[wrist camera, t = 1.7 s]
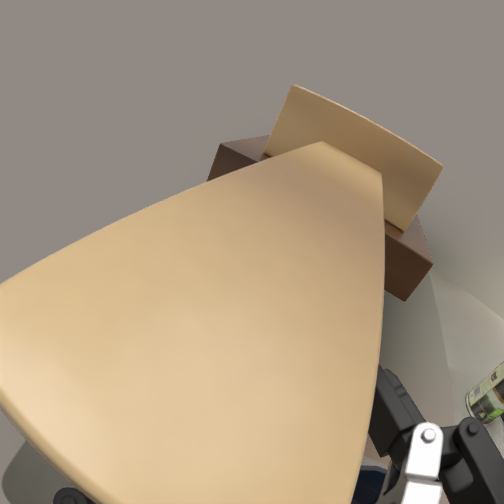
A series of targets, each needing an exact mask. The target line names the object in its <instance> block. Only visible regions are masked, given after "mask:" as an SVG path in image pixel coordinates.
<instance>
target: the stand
mask: <svg viewBox="0 0 504 504" xmlns="http://www.w3.org/2000/svg"><path fill="white" fill-rule="evenodd" d="M269 136H270V135H268V136H261V137H255V138H248V139H241V140H236V141H231V142H225V143H221V144H220V145H219V148H218V151H217V154H216V157H215V159H214V162H213V165H212V168H211V171H210V174H209V176H208V179H207V182H208V181H210V180H213V179H215V178H218V177H220V176H223V175H226V174H228V173H231V172H233V171H236V170H239V169H241V168H244V167H247V166H249V165H252V164H255V163H258V162H260V161H263V160H266V159H269V158H272V157H270V156H268V155H266V154H264V153H263V151H264V148H265V146H266V143H267V141H268V139H269ZM384 227H385V275H384V290H386V291H388V292H389V293H391V294H393V295H394V296H396V297H398V298H399V299H401V300H402V301H406V300H407V298H408V297H409V296H410V295H411V293H412V292H413V291H414V290H415V288H416V287H417V286H418V284H419V283H420V282H421V280H422V279H423V278H424V277H425V275H426V274H427V273H428V271H429V270H430V268H431V267H432V265H433V261H432V258H431V254H430V251H429V248H428V245H427V242H426V239H425V236H424V233H423V230H422V227H421V225H420V222H419V219H418V217H417V214H416V216H415V217H414V219H413V220H412V222H411V224H410V225H409V227H408V228H407V230H406V231H405V232H403V231H401V230H400V229H398V228H396V227H395V226H393V225H392V224H390V223H388V222H387V221H385V220H384Z"/></svg>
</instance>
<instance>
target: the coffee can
mask: <svg viewBox="0 0 504 504" xmlns="http://www.w3.org/2000/svg"><path fill="white" fill-rule="evenodd" d="M466 404H467V408H468V411H469V413H470V415H471V417H474V418H477V419H479V420H480V421H481V422H482V424H483V425H484V426H486V425H488V424H489V423H490V422H491V421H493V420H494V419H495V418H497V417H498V416H499V415H501V414H502V413H503V412H504V361H503V362H502V363H501V364H500V365H499V366H498V367H497V368H496V369H495V370H494V371H493V372H492V373H491V374H490V375H488V376H487V377H486V378H485V379H484V380H483V381H482V382H481V383H479V384H478V385H477V386H476V387H475V388H474V389H473V390H471V391H470V392H469V393H468V394H467V396H466Z"/></svg>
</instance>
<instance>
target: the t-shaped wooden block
mask: <svg viewBox="0 0 504 504" xmlns="http://www.w3.org/2000/svg"><path fill="white" fill-rule="evenodd" d="M263 153H264V154H266V155H268V156H270V157H272V158H269V159H266V160H263V161H260V162H258V163H255V164H252V165H249V166H247V167H244V168H241V169H239V170H236V171H233V172H231V173H228V174H226V175H223V176H220V177H218V178H215V179H213V180H210V181H208V182H205V183H203V184H200V185H198V186H196V187H193V188H191V189H188V190H186V191H184V192H182V193H179V194H176V195H174V196H172V197H169V198H167V199H165V200H162V201H160V202H158V203H156V204H153V205H151V206H149V207H147V208H144V209H142V210H140V211H138V212H136V213H134V214H131V215H129V216H127V217H125V218H123V219H121V220H119V221H116V222H114V223H112V224H110V225H108V226H106V227H104V228H102V229H100V230H98V231H96V232H94V233H92V234H90V235H88V236H86V237H84V238H82V239H80V240H78V241H76V242H74V243H72V244H71V245H68V246H67V247H65V248H63V249H61V250H59V251H57V252H55V253H53V254H52V255H50V256H48V257H46V258H45V259H43V260H41V261H39V262H37V263H35V264H34V265H32V266H30V267H28V268H27V269H25V270H23V271H21V272H20V273H18V274H16V275H15V276H13V277H11V278H9V279H8V280H6V281H4V282H3V283H1V284H0V409H1V410H2V412H3V413H4V415H5V416H6V417H7V418H8V419H9V421H10V422H11V423H12V424H13V426H14V427H15V428H16V429H17V430H18V431H19V432H20V434H21V435H22V436H23V437H24V438H25V439H26V440H27V441H28V442H29V444H30V445H31V446H32V447H33V448H34V449H35V450H36V451H37V452H38V453H39V454H40V455H41V456H42V457H43V458H44V459H45V460H46V461H47V462H48V463H49V464H50V465H51V466H52V467H53V468H54V469H56V470H57V471H58V472H59V473H60V474H61V475H62V476H63V477H64V478H65V479H67V480H68V481H69V482H70V483H71V484H72V485H74V486H75V487H76V488H77V489H78V490H80V491H81V492H82V493H83V494H84V495H86V496H87V497H88V498H90V499H91V500H92V501H93V502H95V503H96V504H351V501H352V497H353V494H354V490H355V486H356V482H357V479H358V475H359V471H360V466H361V462H362V458H363V453H364V449H365V444H366V439H367V434H368V429H369V424H370V418H371V412H372V406H373V400H374V393H375V387H376V379H377V371H378V363H379V354H380V344H381V332H382V318H383V302H384V275H385V227H384V220H385V221H387V222H388V223H390V224H392V225H393V226H395V227H396V228H398V229H400V230H401V231H403V232H405V231H406V230H407V228H408V227H409V225H410V224H411V222H412V220H413V219H414V217H415V216H416V214H417V212H418V211H419V209H420V207H421V206H422V204H423V202H424V201H425V199H426V197H427V196H428V194H429V192H430V191H431V189H432V187H433V185H434V183H435V182H436V180H437V178H438V176H439V175H440V173H441V171H442V169H443V165H442V164H441V163H439V162H438V161H436V160H435V159H433V158H432V157H430V156H429V155H427V154H426V153H424V152H422V151H421V150H420V149H418V148H417V147H415V146H413V145H412V144H410V143H409V142H407V141H405V140H404V139H402V138H400V137H399V136H397V135H395V134H394V133H392V132H390V131H388V130H387V129H385V128H383V127H382V126H380V125H378V124H376V123H374V122H372V121H371V120H369V119H367V118H365V117H363V116H361V115H359V114H358V113H356V112H353V111H352V110H350V109H348V108H346V107H344V106H342V105H340V104H338V103H336V102H333V101H331V100H329V99H327V98H325V97H323V96H321V95H318V94H316V93H314V92H312V91H309V90H307V89H304V88H302V87H300V86H298V85H295V84H293V85H292V86H291V88H290V90H289V93H288V95H287V97H286V99H285V102H284V104H283V106H282V109H281V111H280V113H279V116H278V118H277V120H276V122H275V125H274V127H273V130H272V132H271V134H270V136H269V139H268V141H267V143H266V146H265V148H264V151H263Z"/></svg>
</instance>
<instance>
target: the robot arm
mask: <svg viewBox="0 0 504 504" xmlns="http://www.w3.org/2000/svg"><path fill="white" fill-rule="evenodd" d="M368 433H369V435H370V437H371V439H372V441H373V444H374V445H375V448H376V450H377V452H378V454H379V456H380V457H384V456H387V455H390V457H391V460H390V462H389V466H388V470H387V473H386V477H385V480H384V483H383V486H382V490H381V493H380V496H379V498H378V500H377V502H376V503H375V504H439V502H440V497H441V492H442V487H443V489H444V492H445V494H446V496H447V498H448V500H449V503H450V504H504V459H503V457H502V456H501V454H500V452H499V450H498V449H497V447H496V445H495V443H494V442H493V440H492V438H491V437H490V435H489V433H488V432H487V430H486V428H485V427H484V425H483V424H482V422H481V421H480V420H479V419H477V418H474V417H467V418H465V419H463V420H462V421H461V422H460V424H459V425H456V426H449V427H438V426H437V425H436V424H434V423H430V422H426V420H425V419H424V418H423V416H422V415H421V413H420V412H419V410H418V409H417V407H416V405H415V404H414V402H413V401H412V399H411V397H410V396H409V394H407V391H406V390H405V388H404V387H403V386H402V383H401V382H400V380H399V379H398V377H397V376H396V375H395V374H393V373H392V372H391V371H390V370H388V369H385V370H383V369H382V368H381V366H380V365H379V363H378V371H377V379H376V387H375V393H374V400H373V406H372V412H371V418H370V424H369V429H368ZM438 478H439V480H438ZM53 504H96V503H95V502H93V501H92V500H91V499H90V498H88V497H87V496H86V495H84V494H83V493H82V492H80V491H78V490H77V489H74V488H68V487H67V488H63V489H61V490H59V491H58V492H57V493H56V494H55V496H54V500H53Z"/></svg>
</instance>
